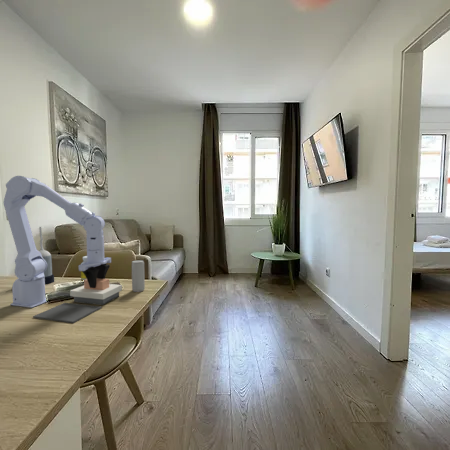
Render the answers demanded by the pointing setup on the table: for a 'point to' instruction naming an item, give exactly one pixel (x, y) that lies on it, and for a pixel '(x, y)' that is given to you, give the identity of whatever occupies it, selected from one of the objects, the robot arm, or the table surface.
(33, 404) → the table surface
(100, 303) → the storage box
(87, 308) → the mat
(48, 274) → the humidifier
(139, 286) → the beverage can
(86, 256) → the pill bottle
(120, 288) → the lid
